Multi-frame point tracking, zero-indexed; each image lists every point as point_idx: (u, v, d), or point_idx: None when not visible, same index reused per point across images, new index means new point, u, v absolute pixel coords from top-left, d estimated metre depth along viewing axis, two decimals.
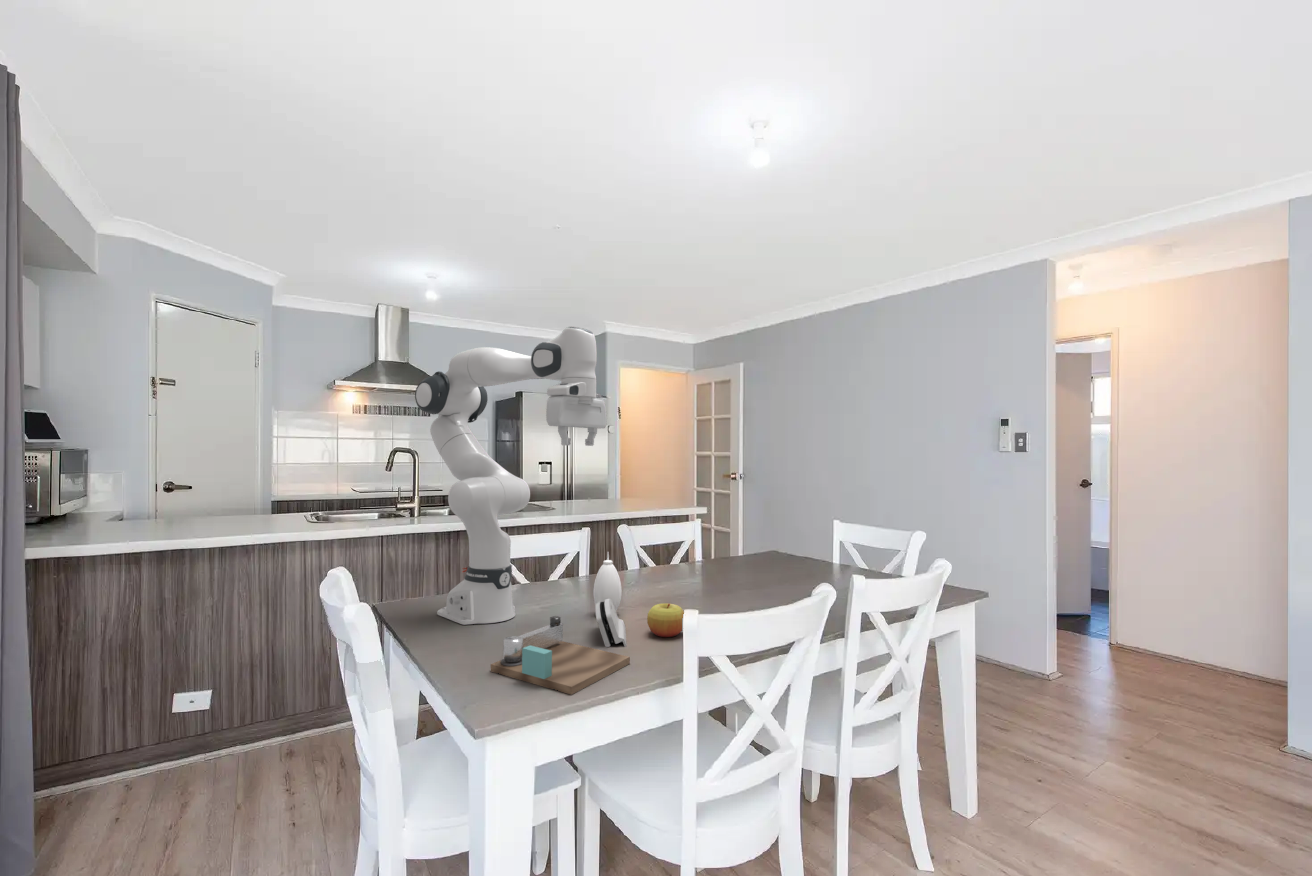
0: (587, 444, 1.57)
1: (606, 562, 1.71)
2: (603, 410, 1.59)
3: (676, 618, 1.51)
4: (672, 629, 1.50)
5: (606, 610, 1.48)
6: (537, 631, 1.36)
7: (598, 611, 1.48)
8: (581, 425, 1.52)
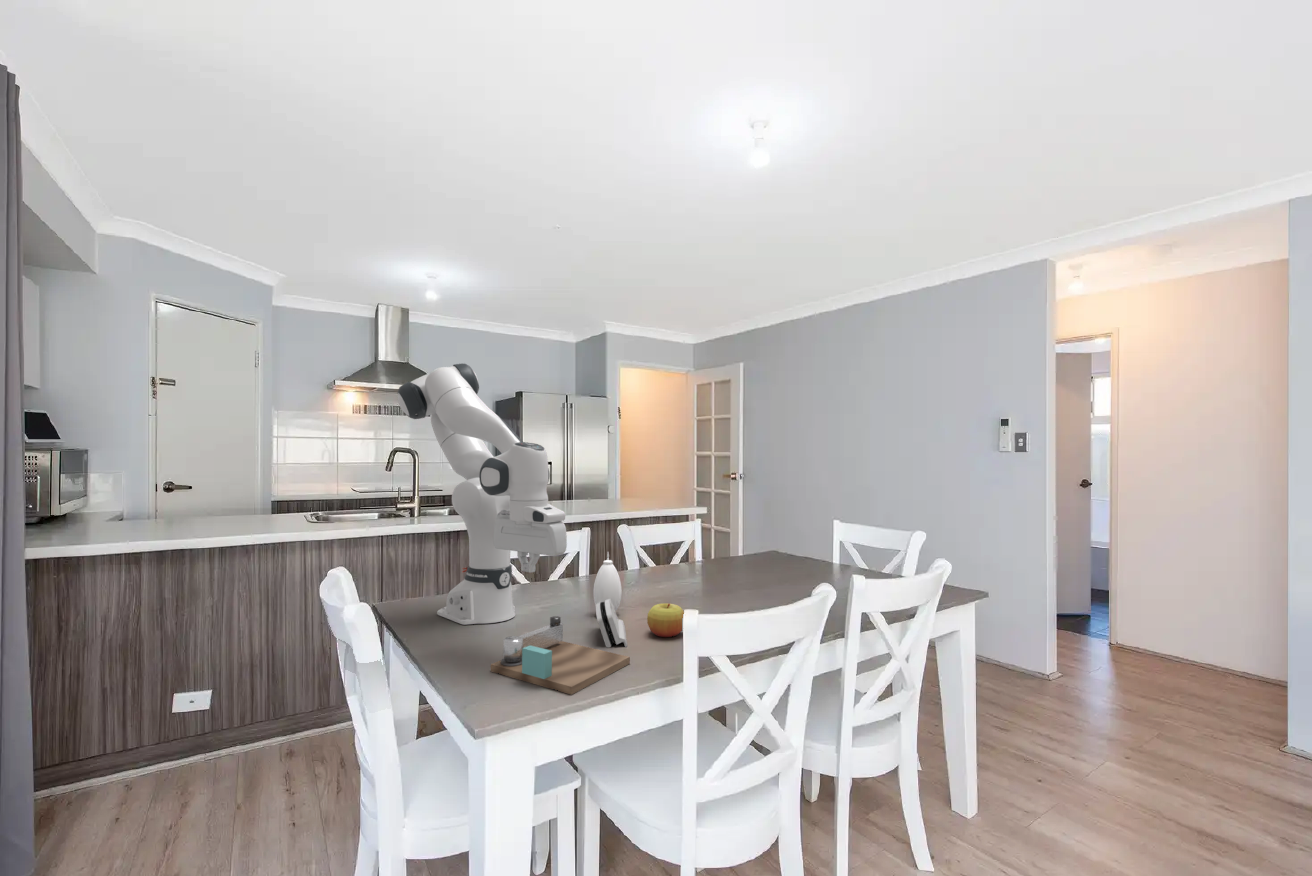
0: None
1: (606, 562, 1.71)
2: None
3: (676, 618, 1.51)
4: (672, 629, 1.50)
5: (607, 610, 1.47)
6: (537, 631, 1.36)
7: (599, 611, 1.48)
8: None
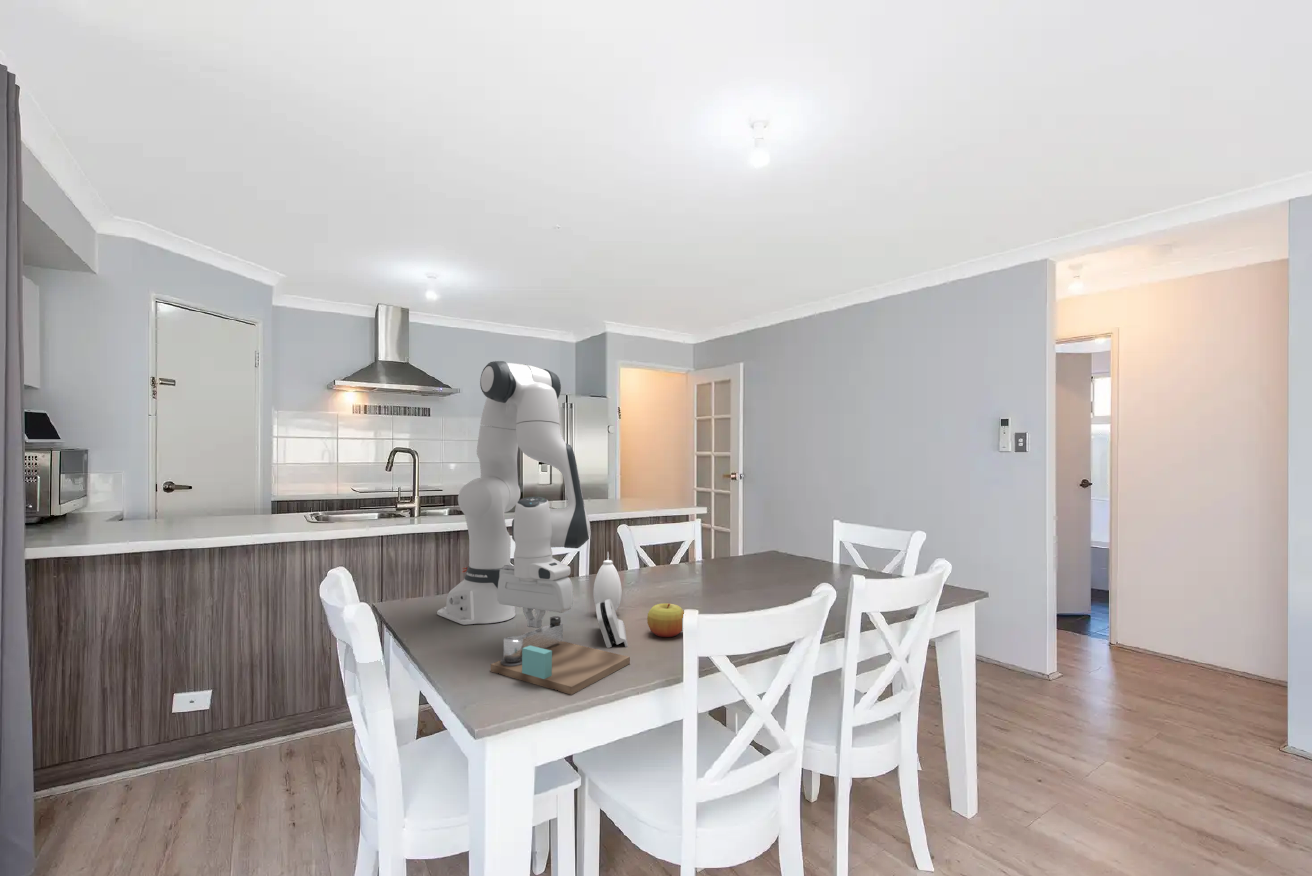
0: None
1: (606, 562, 1.71)
2: None
3: (676, 618, 1.51)
4: (672, 629, 1.50)
5: (607, 611, 1.47)
6: (537, 631, 1.36)
7: (599, 612, 1.48)
8: None
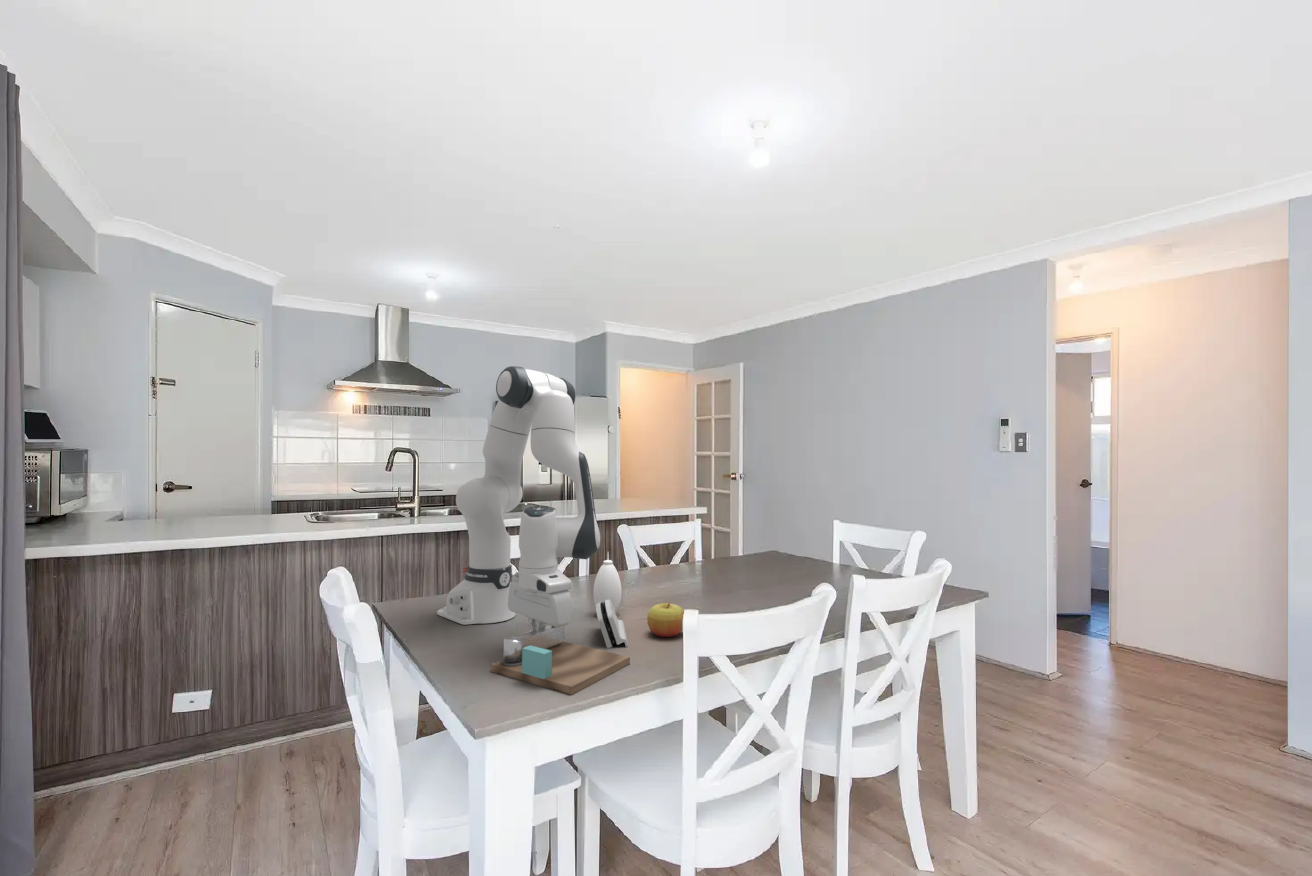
0: None
1: (606, 562, 1.71)
2: None
3: (676, 618, 1.51)
4: (672, 629, 1.50)
5: (607, 611, 1.47)
6: (538, 631, 1.36)
7: (599, 612, 1.48)
8: None
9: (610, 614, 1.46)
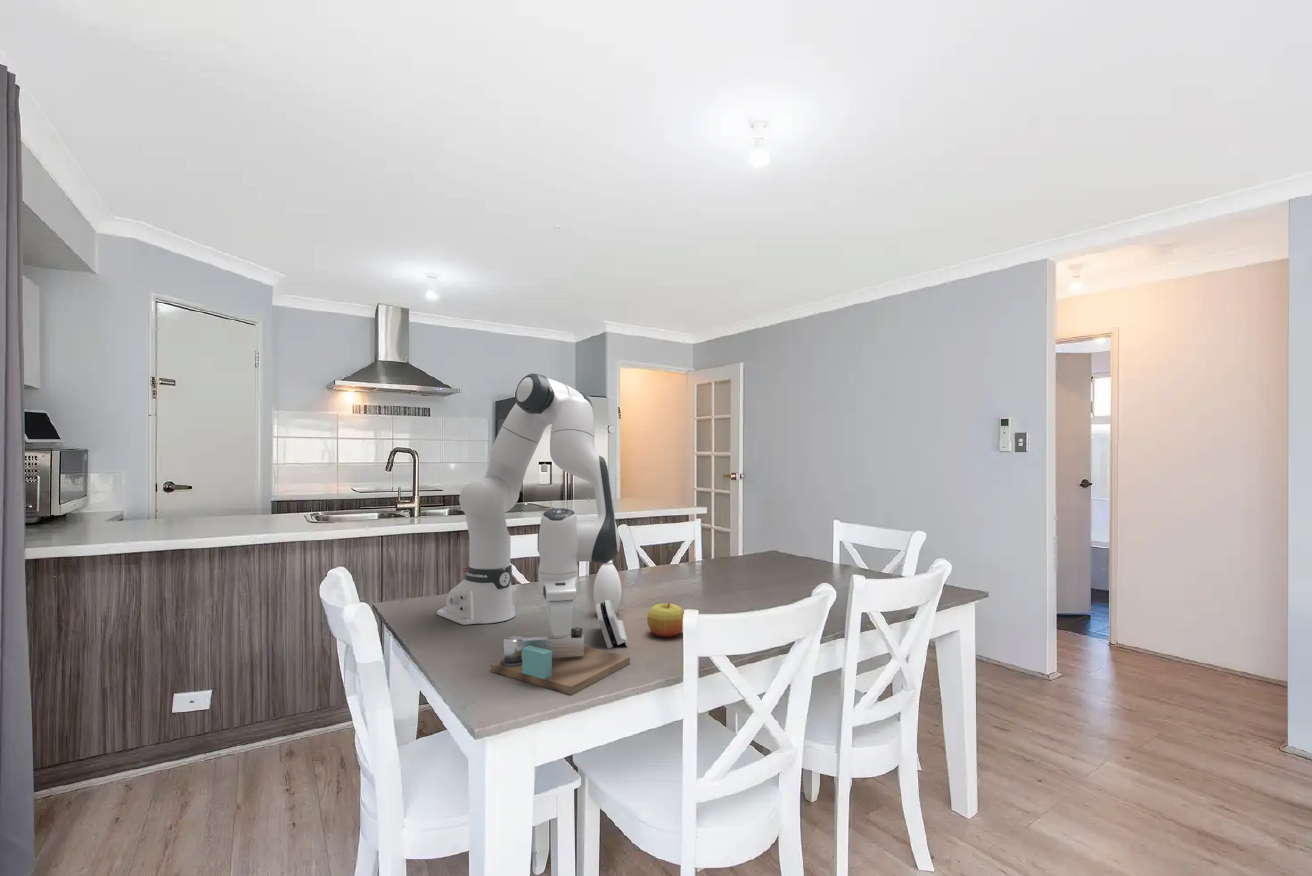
0: None
1: None
2: None
3: (676, 618, 1.51)
4: (672, 629, 1.50)
5: (608, 611, 1.47)
6: (548, 637, 1.31)
7: (599, 612, 1.47)
8: None
9: (610, 614, 1.45)
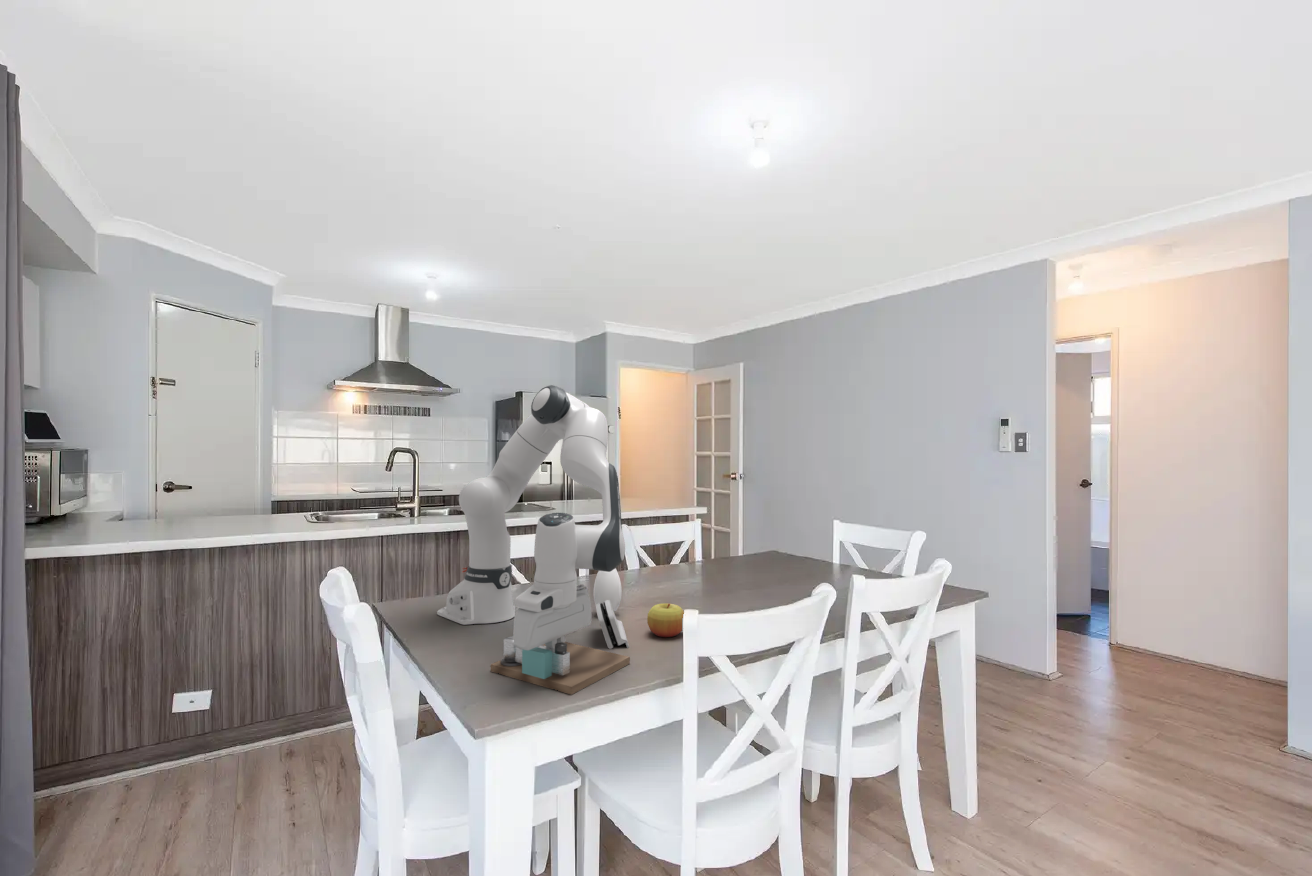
0: None
1: None
2: (586, 606, 1.32)
3: (676, 618, 1.51)
4: (672, 629, 1.50)
5: (608, 611, 1.46)
6: (539, 646, 1.25)
7: (600, 613, 1.47)
8: (558, 637, 1.25)
9: (611, 615, 1.45)
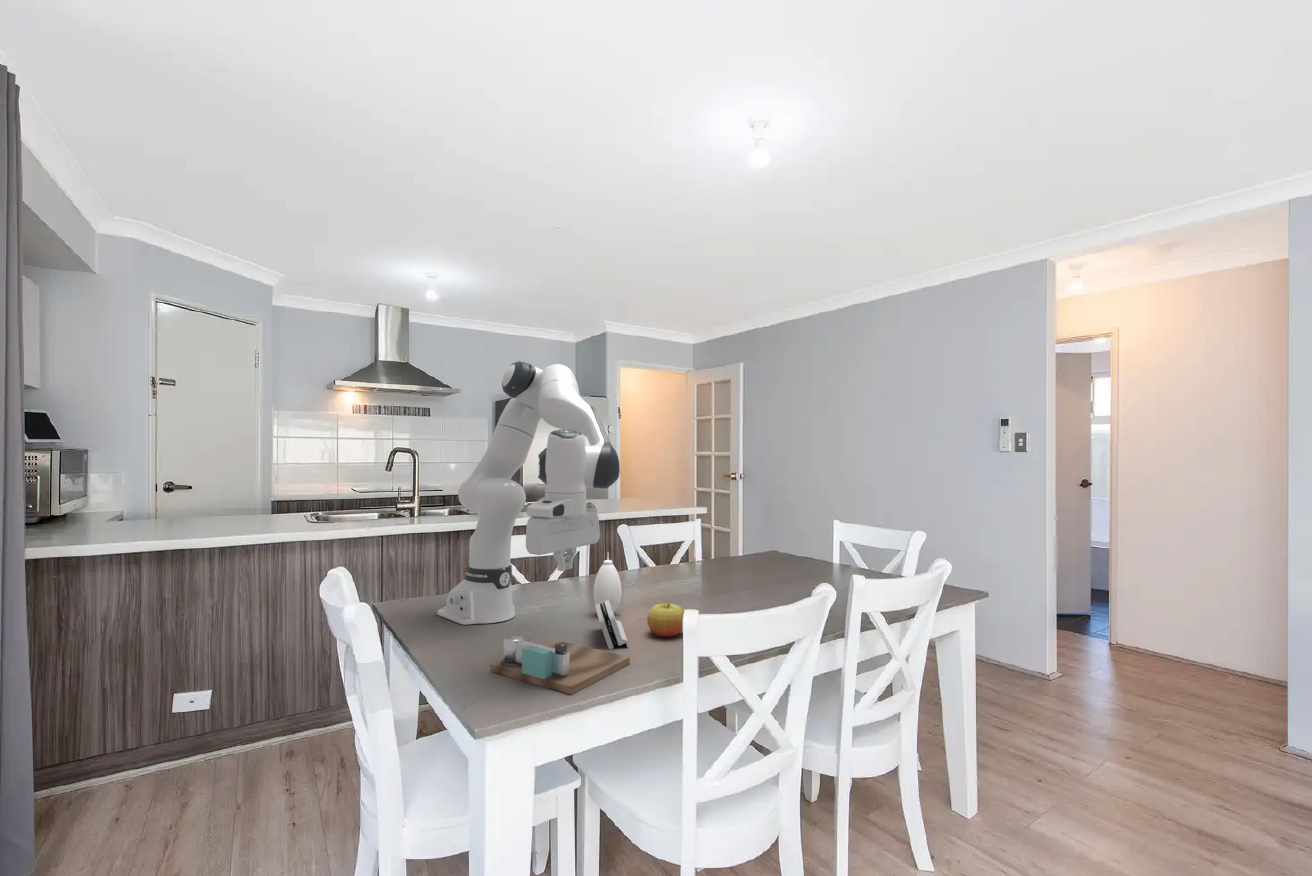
0: None
1: (606, 562, 1.71)
2: (595, 522, 1.36)
3: (676, 618, 1.51)
4: (672, 629, 1.50)
5: (608, 612, 1.46)
6: (539, 646, 1.25)
7: (600, 613, 1.47)
8: (568, 547, 1.28)
9: (611, 615, 1.45)
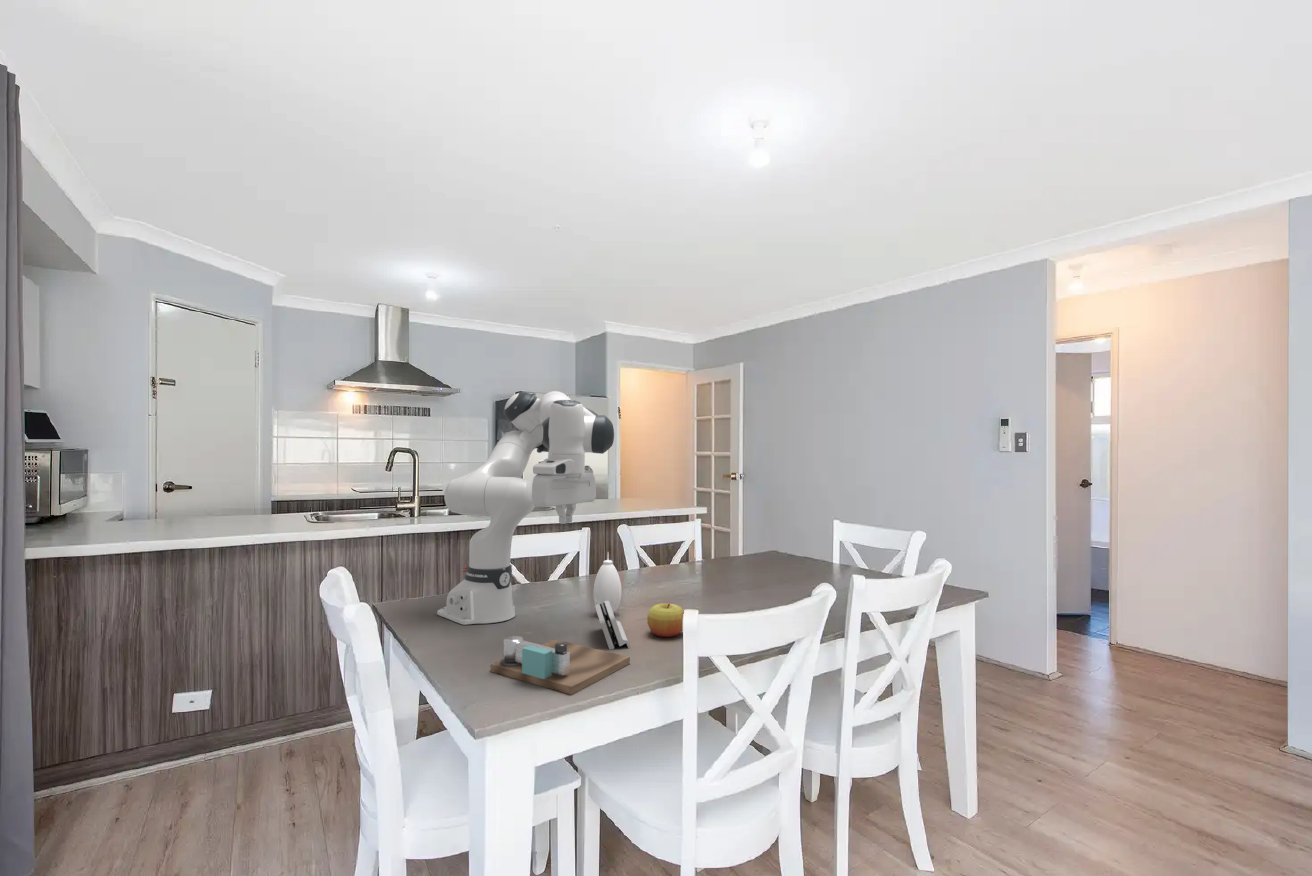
0: None
1: (606, 562, 1.71)
2: (592, 483, 1.53)
3: (676, 618, 1.51)
4: (672, 629, 1.50)
5: (609, 612, 1.46)
6: (539, 646, 1.25)
7: (600, 613, 1.46)
8: (569, 502, 1.45)
9: (612, 615, 1.44)
